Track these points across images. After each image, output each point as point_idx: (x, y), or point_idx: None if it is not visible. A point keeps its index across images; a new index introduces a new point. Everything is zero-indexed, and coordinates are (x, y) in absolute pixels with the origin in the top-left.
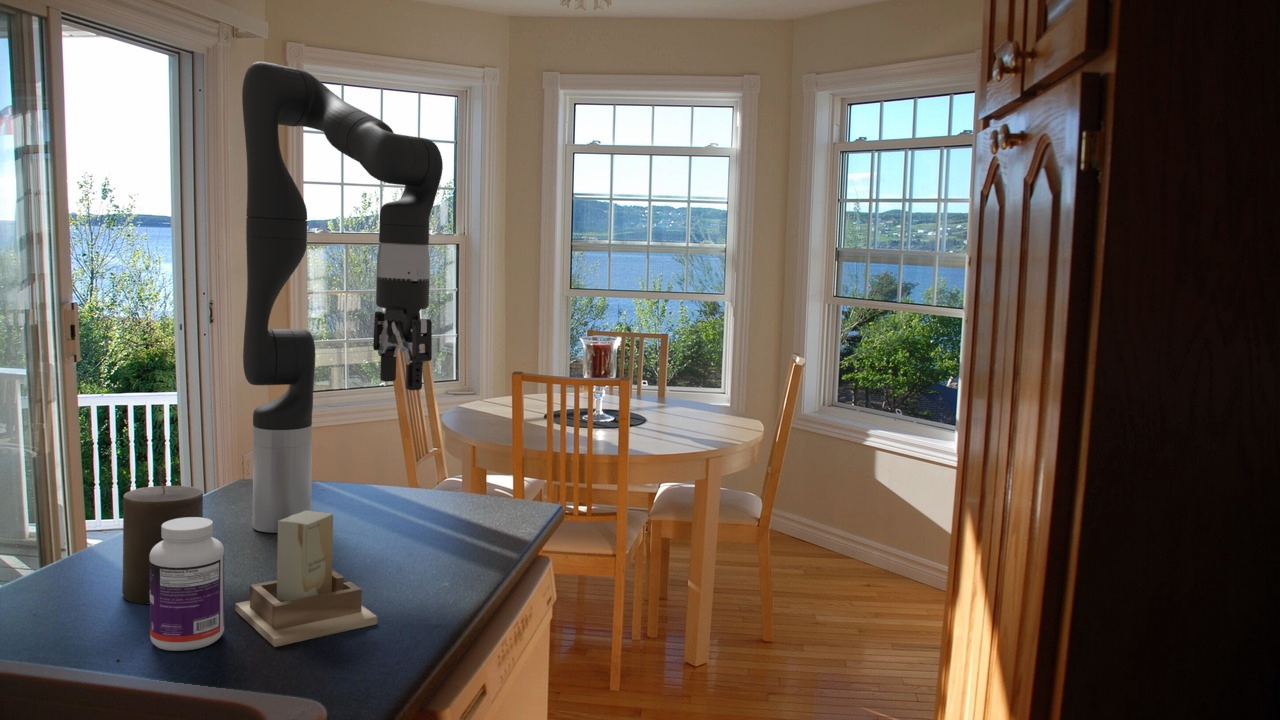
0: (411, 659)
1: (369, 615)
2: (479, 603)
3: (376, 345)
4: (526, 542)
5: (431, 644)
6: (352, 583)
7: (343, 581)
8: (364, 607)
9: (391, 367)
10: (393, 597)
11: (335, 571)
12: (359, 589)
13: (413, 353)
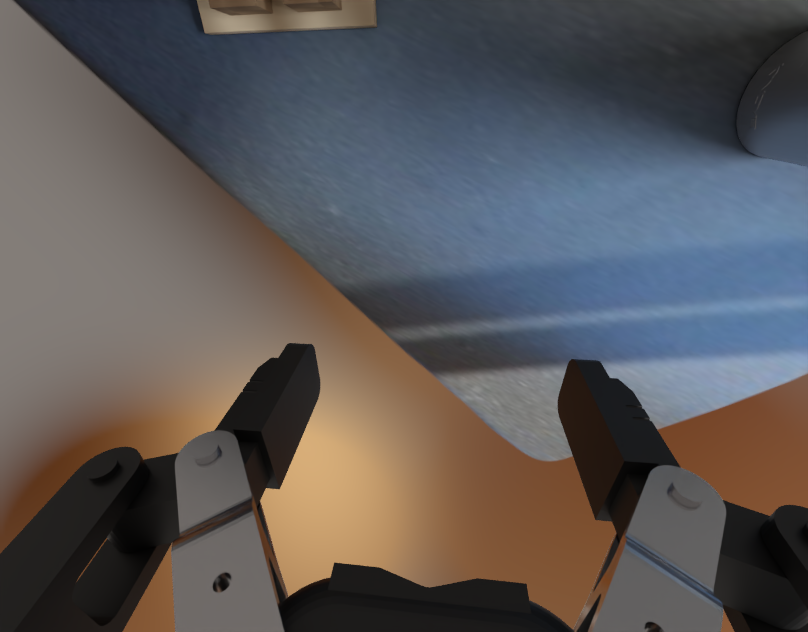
0: (73, 20)
1: (212, 22)
2: (247, 209)
3: (795, 549)
4: (432, 369)
5: (121, 76)
6: (245, 5)
7: (287, 5)
8: (249, 30)
9: (581, 444)
10: (311, 114)
11: (321, 2)
12: (210, 3)
13: (93, 497)
